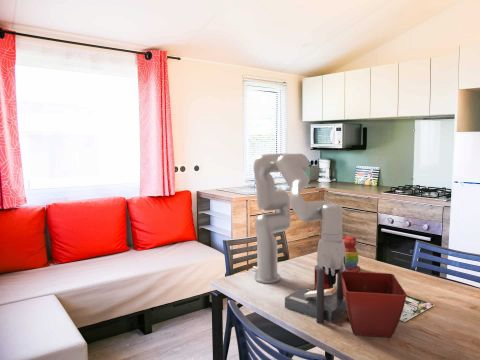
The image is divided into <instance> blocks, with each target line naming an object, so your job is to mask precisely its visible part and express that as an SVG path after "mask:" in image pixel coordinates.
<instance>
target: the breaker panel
mask: <svg viewBox="0 0 480 360" xmlns="http://www.w3.org/2000/svg"><path fill="white" fill-rule="evenodd" d="M309 291H313V289H309V288H306V287H300V288H298V289H296V290H295V291H293V292H292V293H290V294H289V295H287V296H286V297H284V309H288V310H291V311H295V312H297V313H300V314H303V315H306V316H309V317H313V318H315V319H316V311H317V296H316V297H305V296H304V294H306V293H307V292H309ZM345 311H346V312H347V309H346V305H345V301H344V299H341V298H337V296H333V295H326V296H324V322H327V323H331V324H332V323H333V322H335V320H337V319H339V317H340V316H342V314H344V312H345Z"/></svg>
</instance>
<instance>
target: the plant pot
mask: <svg viewBox="0 0 480 360" xmlns="http://www.w3.org/2000/svg"><path fill="white" fill-rule="evenodd" d="M340 275H341V284H342V290H343V296H344V301H345V305H346V312H347V315H348V320H349V324H350V325H349V326H350V328H351V331H352V334H353V335H355V336H366V337H367V336H368V337H377V338H378V337H379V338H380V337H382V338H392V337H393V335H394V334H395V332H396V329H397V327H398V325H399V323H400V320H401V318H402V315H403V311H404V307H405V304H406V300H407V295H408V294H407V293H406V292H405V290H404V288H403V287H402V285H401V284H400V282H399V281H398V279H397V278H396V276H395V275H394V274H393V273H388V272H387V273H386V272H369V271H367V272H365V271H359V272H352V271H344V272H340Z"/></svg>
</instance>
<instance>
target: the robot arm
mask: <svg viewBox="0 0 480 360" xmlns="http://www.w3.org/2000/svg"><path fill="white" fill-rule="evenodd" d="M309 161H310V160H309V159H308V157H307V156H306V155H305V154H303V153H265V154H260V155H259V156H257V157H256V158H255V160H254V161H253V173H254V177H255V181H256V182H255V183H256V203H257V207H258V209H259V210H260V211H262V212H263V211H264V212H267V213H263V214H260V215H258V216H257V217H256V218H255V221H254V227H255V233H256V243H257V245H256V246H257V247H256V248H257V249H256V250H257V254H256V255H257V259H256V260H257V262H256V263H257V264H256V265H257V266H256V265H253V266H252V268H251V272H254V273H255V275H254V277H253V279H254V280H255V281H256V282H259V283H262V284H274V283H277V282H279V281H280V280H282V279H281V278H282V277H281V275H280V274H279V273H278V241H277V239H276V238H275V237H276V236H274V234H276V233H281V232H285V231H288V230H289V229H290V227H291V208H292V211H294V214H295V215H296V216H297V218H298V219H299V220H300V221H302V222H304V223H310V222H317V221H321V231H318V236H320V238H319V240H318V245H317V252H316V265H318V266H319V267H321V268H323V269H324V271H325V273H326V274H327V282H328V285H331V286H332V285H333V286H335V284H337V273H338V272H344V271H346V269H345V265H346V252H345V245H344V241H342V240H343V238H342V237H343V206H342V205H340V204H338V203H331V202H329V201H327V200H322V199H321V200H315V201H307V202H306V201H305V200H304V198H303V196H302V194H301V191H303V190H304V189H305V188H307V187H308V185H309V183H310V178H309V176H308V175H307V173H306V172H307V171H308V170H309V167H310V162H309ZM272 173H280V174H281V175H282V177H283V179H284V180H285V182H286V183H287V185H288V186H289V188H290V191H289V194H288V192H287V191H286V190H284V189H281V188H280V189H276V187H275V185H276V184H275V179H274V177H273V176H272ZM268 211H275V212H269V213H268ZM331 268H332V270H331Z"/></svg>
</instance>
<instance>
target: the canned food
mask: <svg viewBox="0 0 480 360" xmlns="http://www.w3.org/2000/svg"><path fill="white" fill-rule="evenodd" d="M318 268H321V267H319V266H318V264H316V265H315V266H314V285H313V287H314V291H316V290H317V269H318ZM331 270H332V268H331ZM330 288H334V285H332V286H331V285H328V282H327V274H326V273H325V271H324V290H325V289H330Z"/></svg>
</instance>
